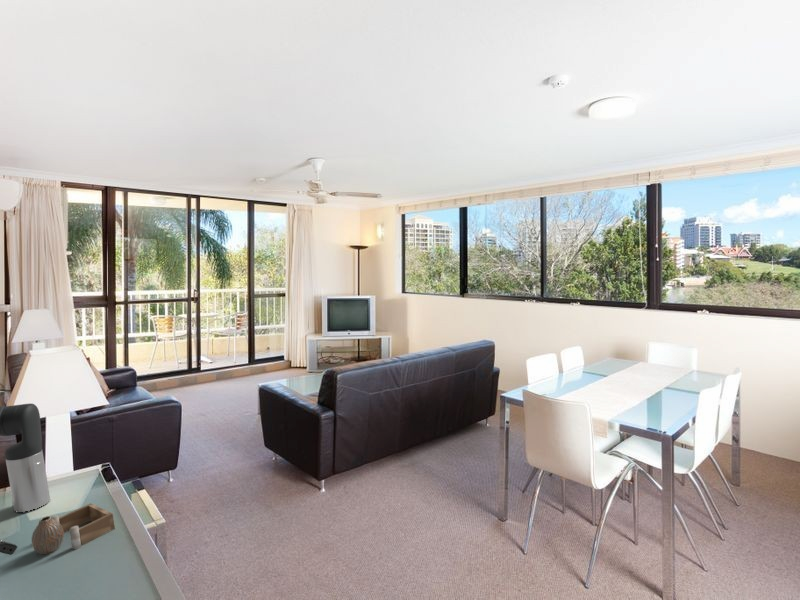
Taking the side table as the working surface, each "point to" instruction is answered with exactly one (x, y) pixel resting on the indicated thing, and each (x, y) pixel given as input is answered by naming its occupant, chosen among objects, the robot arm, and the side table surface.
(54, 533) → the vase
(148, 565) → the side table surface
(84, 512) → the housing
